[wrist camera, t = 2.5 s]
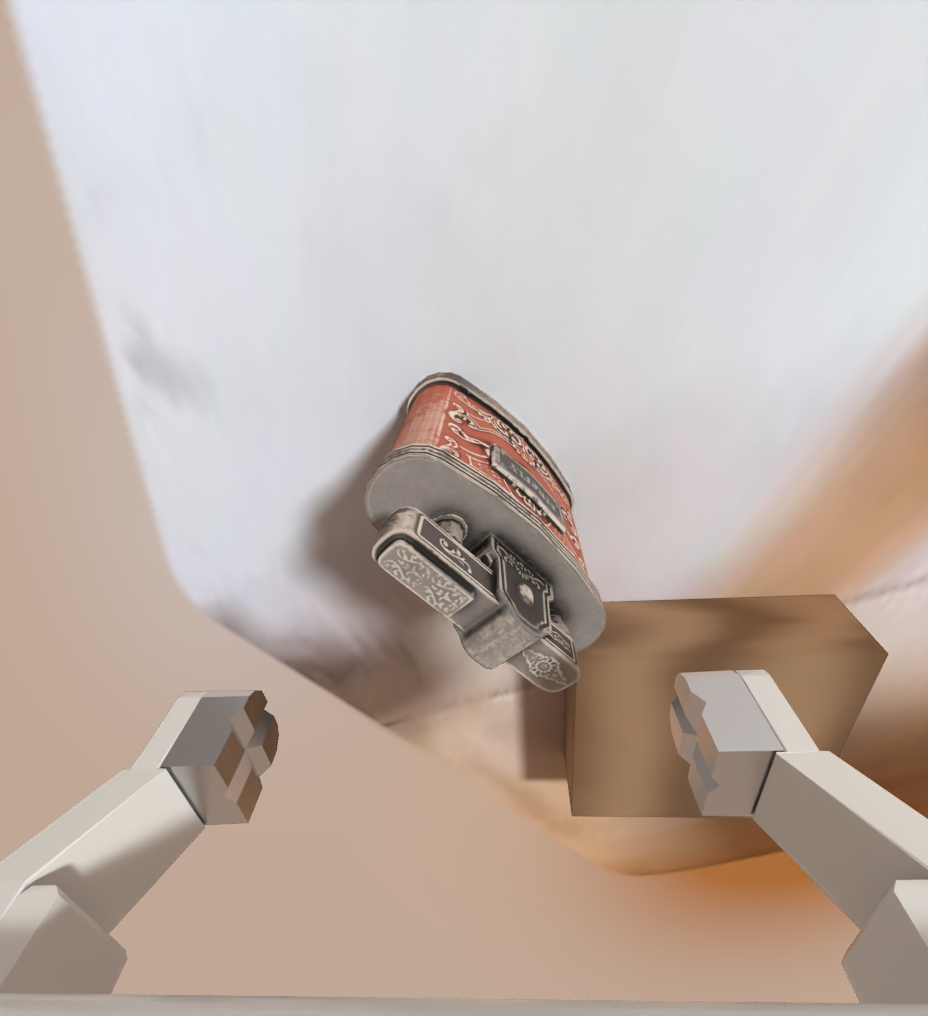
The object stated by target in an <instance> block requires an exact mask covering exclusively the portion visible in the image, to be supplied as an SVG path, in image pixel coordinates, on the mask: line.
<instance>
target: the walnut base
mask: <svg viewBox="0 0 928 1016" xmlns="http://www.w3.org/2000/svg"><path fill="white" fill-rule="evenodd" d="M602 604H603V607H604V611H605V614H606V622H605V628H604V630H603V631H602V633H601V634H600V636H599V637H598V639H597V640H595V641H594V642H593V643H592V644H590V645H589V646H588V647H587V648H584V649H582V650H580V651H578V652H576V653H577V658H578V664H579V669H580V674H581V676H580V678H579V680H578V681H577V682H575V683H574V684H573V685H571V686H569V687H568V688H566V689H565V733H564V758H565V766H566V774H567V781H568V789H569V797H570V805H571V813H572V816H593V817H704V818H753V816H702V815H701V812H700V809H699V807H698V804H697V801H696V799H695V796H694V794H693V791H692V788H691V786H690V783H689V780H688V774H689V769H690V764H689V763H688V762H687V761H686V760H685V759H683V758H682V757H681V756H680V755H679V754H678V751H677V748H676V745H675V742H674V739H673V735H672V731H671V724H670V708H671V702H672V701H674V700H675V699H676V698H677V697H678V695H677V693H676V691H675V688H674V684H675V678H676V676H677V675H678V674H679V673H689V672H709V671H728V670H732V671H739V670H765V671H766V672H767V673H769V674H770V676H771V677H772V679H773V680H774V682H775V683H776V685H777V687H778V688H779V690H780V691H781V693H782V694H783V696H784V697H785V699H786V700H787V702H788V703H789V705H790V706H791V708H792V709H793V711H794V712H795V714H796V715H797V717H798V719H799V720H800V722H801V723H802V725H803V726H804V728H805V729H806V731H807V732H808V734H809V735H810V737H811V738H812V740H813V741H814V743H815V744H816V746H817V748H818V749H819V751H830V752H831V753H833V754H834V755H836V756H837V757H838V756H839V754H840V752H841V750H842V748H843V746H844V744H845V742H846V740H847V738H848V736H849V734H850V731H851V729H852V727H853V725H854V723H855V721H856V719H857V717H858V715H859V713H860V711H861V709H862V707H863V705H864V703H865V701H866V699H867V697H868V695H869V693H870V691H871V689H872V687H873V685H874V683H875V680H876V678H877V676H878V674H879V672H880V670H881V668H882V666H883V664H884V662H885V660H886V658H887V656H888V653H887V652H886V651H885V649H884V648H883V647H882V646H881V645H880V644H879V643H878V642H877V641H876V640H875V638H874V637H873V636H872V635H871V634H870V633H869V632H868V631H867V630H866V629H865V627H864V626H863V625H862V624H861V623H860V622H859V621H858V620H857V619H856V618H855V616H854V615H853V614H852V613H851V612H850V611H849V610H848V609H847V608H846V607H845V605H844V604H843V603H842V602H841V601H840V600H839V599H838V598H837V597H836V595H811V596H781V597H750V598H719V599H688V600H658V601H627V602H602Z"/></svg>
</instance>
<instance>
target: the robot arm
mask: <svg viewBox="0 0 928 1016" xmlns="http://www.w3.org/2000/svg"><path fill="white" fill-rule="evenodd" d="M674 688H675V691H676V693H677V695H678V697H677V698H676V699H675V700H674V701H672V702H671V708H670V724H671V731H672V735H673V739H674V742H675V745H676V748H677V751H678V754H679V755H680V756H681V757H682V758H683V759H685V760H686V761H687V762H688V763H689V764H690V769H689V774H688V780H689V783H690V786H691V788H692V791H693V794H694V796H695V799H696V801H697V804H698V807H699V809H700V812H701V815H702V816H753V818H752V819H753V820H754V821H755V822H756V823H757V824H758V825H759V826H760V827H761V828H762V829H763V830H764V831H765V832H766V833H767V834H768V835H769V836H770V837H771V838H772V839H773V840H774V841H775V842H776V844H777V845H778V846H779V847H780V848H781V849H782V850H783V851H784V852H785V853H786V854H787V855H788V856H789V857H790V858H791V859H792V860H793V861H794V862H795V863H796V864H797V865H798V866H799V867H800V868H801V869H802V870H803V871H804V872H805V873H806V874H807V875H808V876H809V877H810V878H811V879H812V880H813V881H814V882H815V883H816V884H817V886H818V887H819V888H820V889H821V890H822V891H823V892H824V893H825V894H826V895H827V896H828V897H829V898H830V899H831V900H832V901H833V902H834V903H835V904H836V905H837V906H838V907H839V908H840V909H841V910H842V911H843V912H844V913H845V914H846V915H847V916H848V917H849V918H850V919H851V920H852V921H853V922H854V923H855V924H856V925H857V926H858V928H860V930H861V931H860V933H859V934H858V935H857V937H856V938H855V940H854V941H853V943H852V944H851V945H850V947H849V948H848V950H847V951H846V953H845V955H844V957H843V960H842V962H841V964H842V966H843V968H844V970H845V972H846V975H847V977H848V979H849V981H850V983H851V985H852V987H853V989H854V991H855V993H856V995H857V997H858V1000H859V1002H860V1003H786V1002H785V1003H783V1002H781V1003H780V1002H778V1003H777V1002H702V1001H699V1002H698V1001H620V1000H613V1001H612V1000H539V999H459V998H377V997H296V996H211V995H210V996H209V995H208V996H207V995H131V994H129V995H128V994H111V993H112V990H113V988H114V986H115V984H116V982H117V980H118V978H119V976H120V974H121V972H122V970H123V967H124V965H125V963H126V961H127V955H126V950H125V949H124V948H123V947H122V946H121V945H120V944H119V943H118V942H117V941H115V940H114V939H113V938H112V937H111V936H110V935H109V933H110V932H111V931H112V930H113V929H114V928H115V927H116V926H117V924H118V923H119V922H120V921H121V920H122V919H123V918H124V917H125V916H126V914H127V913H128V912H129V911H130V910H131V909H132V908H133V907H134V906H135V904H136V903H137V902H138V901H139V900H140V899H141V898H142V897H143V896H144V895H145V893H146V892H147V891H148V890H149V889H150V888H151V887H152V886H153V885H154V884H155V883H156V881H157V880H158V879H159V878H160V877H161V876H162V875H163V874H164V873H165V871H166V870H167V869H168V868H169V867H170V866H171V865H172V864H173V863H174V862H175V860H176V859H177V858H178V857H179V856H180V855H181V854H182V853H183V852H184V851H185V850H186V848H187V847H188V846H189V845H190V844H191V843H192V842H193V841H194V840H195V838H196V837H197V836H198V835H199V834H200V833H201V832H202V831H203V830H204V829H205V826H204V825H218V824H238V823H248V822H249V820H250V817H251V815H252V812H253V810H254V807H255V805H256V802H257V800H258V797H259V795H260V792H261V790H262V785H261V781H260V778H259V776H260V775H261V774H262V773H263V772H265V771H266V770H267V769H268V768H269V767H270V766H271V764H272V762H273V759H274V756H275V754H276V751H277V744H278V737H279V733H278V725H277V722H276V720H275V718H274V716H273V715H271V714H270V713H268V712H267V711H265V710H264V708H265V706H266V704H267V700H266V698H265V696H264V694H263V692H262V691H256V690H254V691H194V692H185V693H184V694H183V695H181V696H180V697H178V699H177V700H176V701H175V703H174V704H173V706H172V708H171V709H170V710H169V712H168V713H167V715H166V716H165V718H164V719H163V721H162V723H161V724H160V726H159V727H158V729H157V730H156V732H155V733H154V735H153V736H152V738H151V739H150V741H149V742H148V744H147V745H146V747H145V748H144V750H143V751H142V753H141V754H140V756H139V757H138V759H137V761H136V762H135V764H134V765H133V767H132V768H131V769H123V770H122V771H121V772H119V773H118V774H117V775H115V776H114V777H113V778H111V779H110V780H109V781H107V782H106V783H105V784H104V785H102V786H101V787H99V788H98V789H97V790H95V791H94V792H93V793H91V794H90V795H89V796H87V797H86V798H85V799H84V800H82V801H81V802H80V803H79V804H77V805H76V806H74V807H73V808H72V809H70V810H69V811H68V812H66V813H65V814H64V815H62V816H61V817H60V818H58V819H57V820H56V821H55V822H53V823H52V824H50V825H49V826H48V827H46V828H45V829H44V830H43V831H41V832H40V833H39V834H37V835H36V836H35V837H33V838H32V839H31V840H29V841H28V842H27V843H25V844H24V845H23V846H21V847H20V848H19V849H17V850H16V851H15V852H13V853H12V854H11V855H9V856H8V857H7V858H5V859H4V860H3V861H1V862H0V1016H928V819H927V818H925V817H924V816H923V815H921V814H920V813H918V812H917V811H915V810H914V809H912V808H911V807H910V806H908V805H907V804H905V803H904V802H902V801H901V800H899V799H898V798H896V797H895V796H894V795H892V794H891V793H889V792H888V791H886V790H885V789H883V788H882V787H881V786H879V785H878V784H876V783H875V782H873V781H872V780H870V779H869V778H868V777H866V776H865V775H863V774H862V773H860V772H859V771H857V770H856V769H854V768H853V767H852V766H850V765H849V764H847V763H846V762H844V761H843V760H841V759H840V758H839V757H837V756H836V755H834V754H833V753H831V752H830V751H819V749H818V748H817V746H816V744H815V743H814V741H813V740H812V738H811V737H810V735H809V734H808V732H807V731H806V729H805V728H804V726H803V725H802V723H801V722H800V720H799V719H798V717H797V715H796V714H795V712H794V711H793V709H792V708H791V706H790V705H789V703H788V702H787V700H786V699H785V697H784V696H783V694H782V693H781V691H780V690H779V688H778V687H777V685H776V683H775V682H774V680H773V679H772V677H771V676H770V674H769V673H767V672H766V671H765V670H739V671H732V670H728V671H709V672H689V673H679V674H678V675H677V676H676V678H675V684H674Z"/></svg>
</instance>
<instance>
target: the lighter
mask: <svg viewBox="0 0 928 1016" xmlns="http://www.w3.org/2000/svg"><path fill="white" fill-rule="evenodd" d="M364 502H365V509H366V514H367V515H368V517H369V519H370V521H371V522H372V524H373V525H374V527H375V528H376V529H377V530H378V531H379V533H378V536H377V538H376V541H375V544H374V546H373V549H372V557H373V559H374V561H375V563H376V564H377V565H379V566H380V567H381V568H382V569H383V570H384V571H386V572H387V573H388V574H390V575H391V576H392V577H393V578H395V579H396V580H397V581H399V582H400V583H401V584H403V585H404V586H405V587H407V588H408V589H409V590H411V591H412V592H413V593H414V594H416V595H417V596H418V597H420V598H421V599H422V600H424V601H425V602H426V603H428V604H429V605H430V606H432V607H433V608H434V609H435V610H437V611H438V612H439V613H441V614H442V615H443V616H445V617H446V618H447V619H449V620H450V621H451V622H453V625H454V628H455V630H456V631H457V633H458V634H459V636H460V639H461V643H462V645H463V647H464V649H465V651H466V652H467V653H468V655H469V656H470V657H471V658H472V659H473V660H474V661H476V662H477V663H478V664H480V665H481V666H482V667H484V668H486V669H493V668H495V667H497V666H498V665H500V664H503V663H504V662H505V663H506V664H508V665H509V666H510V667H512V668H513V669H514V670H516V671H517V672H518V673H520V674H521V675H522V676H524V677H525V678H526V679H527V680H529V681H530V682H531V683H533V684H534V685H535V686H537V687H538V688H540V689H542V690H543V691H546V692H551V693H552V692H559V691H561V690H563V689H566V688H568V687H569V686H571V685H573V684H574V683H575V682H577V681H578V680H579V678H580V676H581V674H580V669H579V664H578V658H577V653H576V652H578V651H580V650H582V649H584V648H587V647H588V646H589V645H590V644H592V643H593V642H594V641H595V640H597V639H598V637H599V636H600V634H601V633H602V631H603V630H604V628H605V622H606V614H605V611H604V607H603V604H602V600H601V597H600V594H599V592H598V590H597V588H596V587H595V585H594V584H593V582H592V581H591V580H590V578H589V577H588V573H587V569H586V566H585V562H584V558H583V554H582V550H581V546H580V543H579V539H578V535H577V531H576V527H575V523H574V520H573V516H572V512H573V506H574V500H573V496H572V493H571V490H570V487H569V484H568V482H567V481H566V479H565V477H564V476H563V474H562V473H561V471H560V470H559V468H558V467H557V465H556V464H555V462H554V460H553V459H552V457H551V456H550V454H549V453H548V452H547V451H546V450H545V449H544V447H543V446H542V445H541V444H540V443H539V442H538V440H537V439H536V438H535V437H534V436H533V435H532V433H531V432H530V431H529V430H528V429H527V427H526V426H525V425H524V424H522V423H521V422H520V421H519V420H518V419H517V418H516V417H514V416H513V415H512V414H511V413H510V412H509V411H507V410H506V409H505V408H504V407H503V406H502V405H501V404H499V403H498V402H497V401H496V400H495V399H494V398H492V397H491V396H489V395H488V394H486V393H485V392H483V391H482V390H480V389H479V388H477V387H476V386H474V385H473V384H471V383H470V382H469V381H467V380H466V379H464V378H463V377H461V376H459V375H457V374H454V373H452V372H438V373H435V374H432V375H429V376H427V377H426V378H425V379H423V380H422V381H421V382H419V384H418V385H417V386H416V388H415V389H414V391H413V392H412V394H411V396H410V398H409V401H408V405H407V409H406V419H405V421H404V423H403V425H402V428H401V430H400V432H399V434H398V436H397V439H396V441H395V443H394V445H393V447H392V450H391V452H390V453H389V454H388V455H387V456H385V457H384V458H383V459H382V460H381V462H380V463H379V465H378V466H377V467H376V469H375V470H374V472H373V474H372V476H371V478H370V480H369V482H368V485H367V489H366V493H365V497H364Z"/></svg>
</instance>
